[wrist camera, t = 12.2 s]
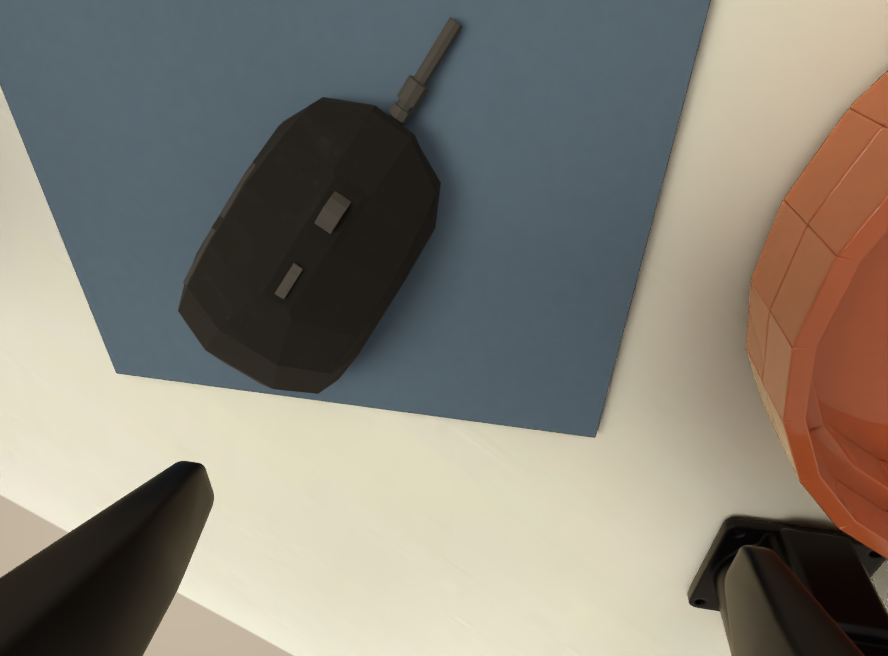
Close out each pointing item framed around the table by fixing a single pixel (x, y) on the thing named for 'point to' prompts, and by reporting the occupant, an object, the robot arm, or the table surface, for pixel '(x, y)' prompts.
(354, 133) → the gaming mouse
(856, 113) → the bowl
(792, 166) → the table surface
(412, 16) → the mouse pad
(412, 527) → the table surface
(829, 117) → the table surface
